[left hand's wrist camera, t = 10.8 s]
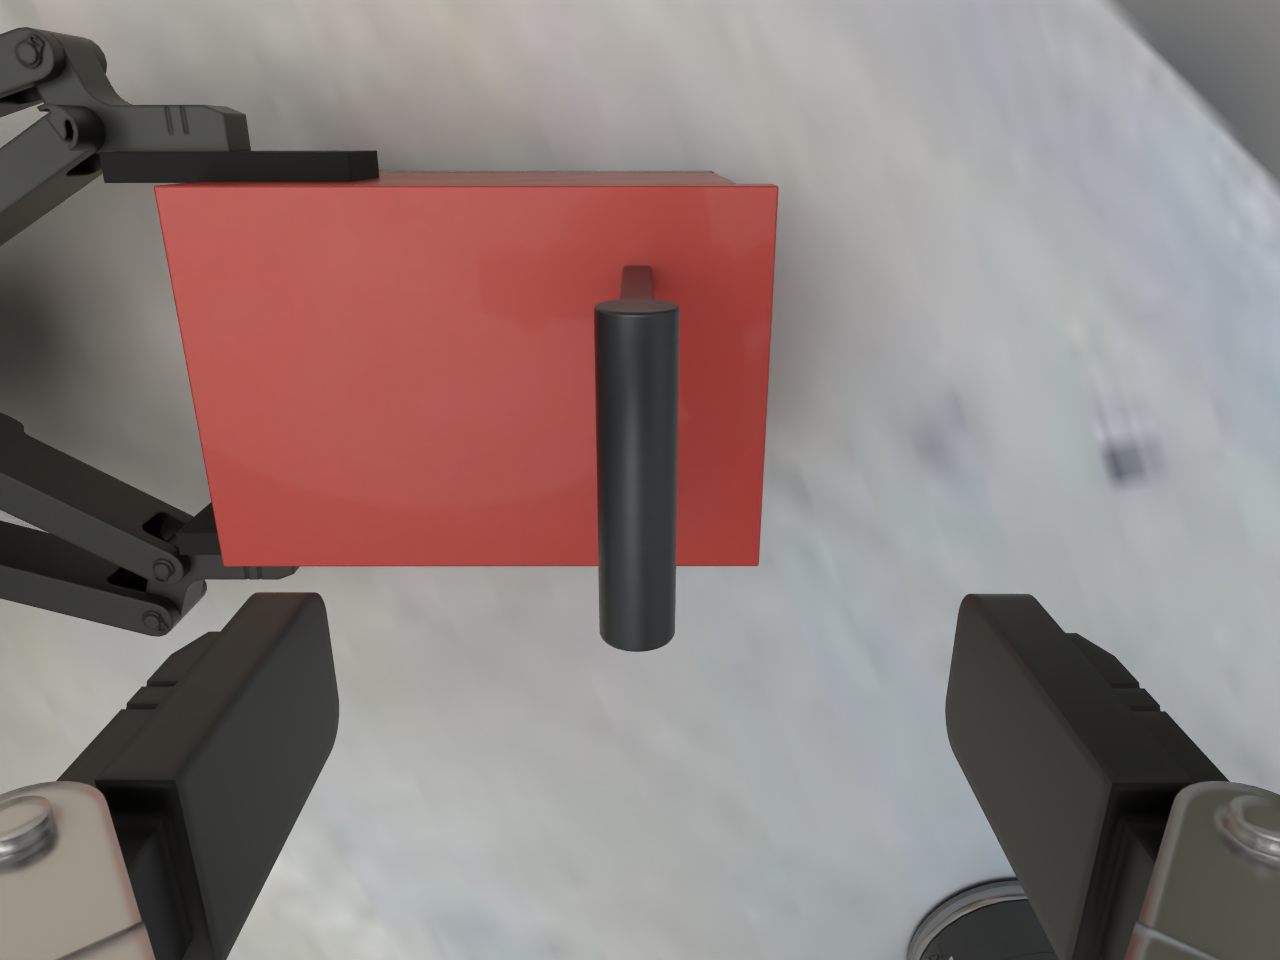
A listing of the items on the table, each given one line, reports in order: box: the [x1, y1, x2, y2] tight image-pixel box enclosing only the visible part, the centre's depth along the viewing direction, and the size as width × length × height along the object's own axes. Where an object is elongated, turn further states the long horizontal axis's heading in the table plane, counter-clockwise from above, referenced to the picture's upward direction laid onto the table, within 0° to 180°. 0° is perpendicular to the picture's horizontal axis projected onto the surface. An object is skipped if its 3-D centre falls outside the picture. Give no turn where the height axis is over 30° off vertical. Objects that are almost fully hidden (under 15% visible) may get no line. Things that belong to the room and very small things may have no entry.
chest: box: [181, 171, 735, 184], centre depth 28 cm, size 14×10×9 cm
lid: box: [154, 184, 778, 652], centre depth 20 cm, size 15×10×8 cm
